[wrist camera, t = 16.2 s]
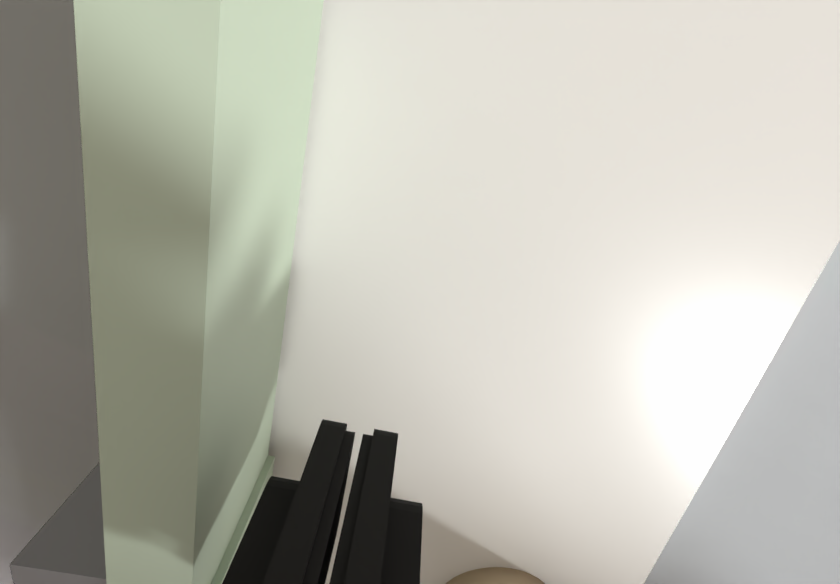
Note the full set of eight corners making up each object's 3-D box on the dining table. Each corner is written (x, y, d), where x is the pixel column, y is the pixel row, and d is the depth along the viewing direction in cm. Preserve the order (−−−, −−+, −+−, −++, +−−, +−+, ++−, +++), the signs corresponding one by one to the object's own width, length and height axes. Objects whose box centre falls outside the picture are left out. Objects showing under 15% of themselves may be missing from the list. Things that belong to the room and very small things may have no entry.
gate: (233, -25, 9) (45, -128, 5) (334, 0, 10) (244, -75, 5) (204, 484, 15) (101, 665, 10) (269, 496, 15) (197, 679, 10)
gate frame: (577, 675, 20) (626, 876, 15) (152, 611, 19) (50, 803, 14) (1047, -178, 9) (1804, -499, 4) (120, -428, 8) (-385, -1256, 3)
